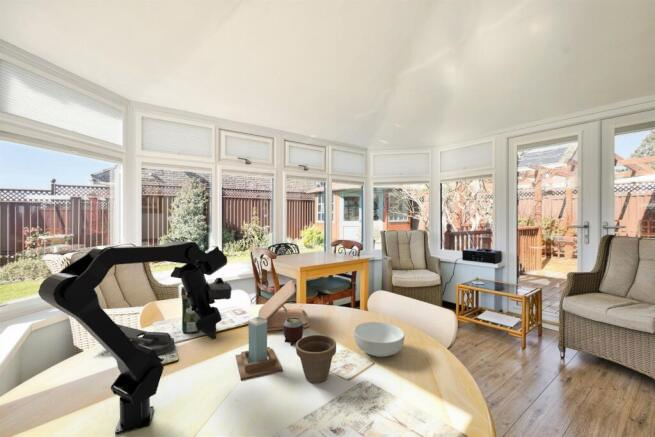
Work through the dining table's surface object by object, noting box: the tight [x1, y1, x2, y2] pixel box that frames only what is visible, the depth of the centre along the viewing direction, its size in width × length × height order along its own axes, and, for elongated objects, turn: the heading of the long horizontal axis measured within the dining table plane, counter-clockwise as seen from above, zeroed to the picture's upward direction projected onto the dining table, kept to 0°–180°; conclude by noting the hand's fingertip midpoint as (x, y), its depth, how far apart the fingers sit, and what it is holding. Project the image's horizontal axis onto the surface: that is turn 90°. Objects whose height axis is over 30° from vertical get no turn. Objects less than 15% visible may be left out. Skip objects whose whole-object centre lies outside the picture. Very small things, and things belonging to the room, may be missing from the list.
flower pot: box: [295, 334, 337, 384], centre depth 84 cm, size 12×11×10 cm
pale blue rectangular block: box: [247, 316, 268, 363], centre depth 91 cm, size 4×4×13 cm
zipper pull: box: [116, 323, 175, 355], centre depth 102 cm, size 9×7×25 cm
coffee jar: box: [180, 286, 200, 334], centre depth 118 cm, size 10×8×19 cm
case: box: [257, 279, 310, 332], centre depth 126 cm, size 20×21×16 cm
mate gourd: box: [280, 305, 304, 347], centre depth 106 cm, size 8×8×15 cm
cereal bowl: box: [353, 321, 405, 358], centre depth 99 cm, size 17×17×7 cm
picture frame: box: [235, 346, 284, 381], centre depth 91 cm, size 14×12×2 cm
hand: (211, 330), depth 85 cm, fingers open, 9 cm apart
